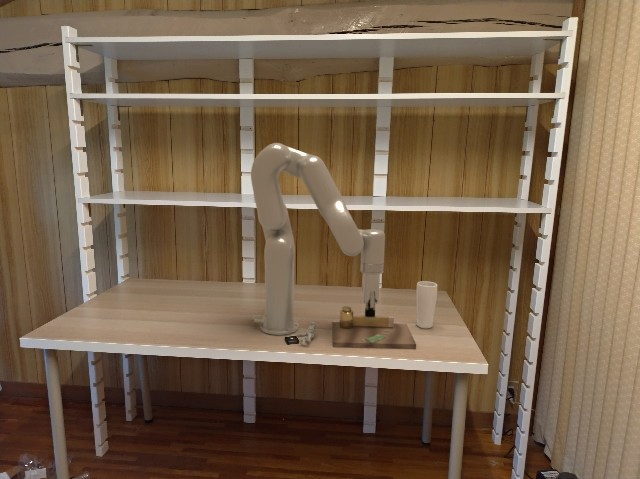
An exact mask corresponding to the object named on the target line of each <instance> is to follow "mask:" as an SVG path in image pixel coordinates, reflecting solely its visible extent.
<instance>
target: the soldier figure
mask: <svg viewBox="0 0 640 479" xmlns="http://www.w3.org/2000/svg"><path fill="white" fill-rule="evenodd" d="M308 322H309V324H310V325H309V326H308V328H307V330H306V332H304V333H297V334H296V336H297V337H302V338H301V341H299V342H298V344H299V345H300V346H303V347H306V342H308V343H311V340H312V339H314V338H315V332H316V329H317V328H318V327H319V326H318V325H319V324H318V323H317V322H315V321H313V320H309V321H308Z"/></svg>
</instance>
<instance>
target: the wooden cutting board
mask: <svg viewBox="0 0 640 479" xmlns="http://www.w3.org/2000/svg"><path fill="white" fill-rule="evenodd" d="M331 322H332V324H331V325H332V326H331V330H332V334H331V336H332V348H357V349H358V348H359V349H361V348H362V349H396V350H398V349H401V350H402V349H405V350H416V349H417V343H416V340H415V339H414V337H413V334H412V332H411V330H410V328H409V326H408V324H407V323H396V322H394V327H384V326H353V327H352V328H342V327H340V326H339V325H340V321H331Z"/></svg>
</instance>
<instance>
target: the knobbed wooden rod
mask: <svg viewBox="0 0 640 479" xmlns="http://www.w3.org/2000/svg"><path fill="white" fill-rule="evenodd" d="M339 322H340V325H339V326H340V327H342V328H352V327H353V326H384V327H394V323H395V317H394V316H393V315H392V316H391V315H389V316H384V315H383V316H381V315H379V316H378V315H375V316H365V315H354V310H352V307H351V306H347V305H345V306H342V309H340V310H339Z"/></svg>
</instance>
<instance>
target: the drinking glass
mask: <svg viewBox="0 0 640 479" xmlns="http://www.w3.org/2000/svg"><path fill="white" fill-rule="evenodd" d="M415 294H416V295H415V296H416V299H415V300H416V326H417V327H419V328H421V329H426V330H427V329H432V328H433V326H434V324H433V323H434V315H435V311H436V310H435V309H436V304H437V303H436V302H437V296H438V284H437V283H436V282H433V281H427V280H425V281H424V280H422V281H418V282H417V283H416V293H415Z"/></svg>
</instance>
